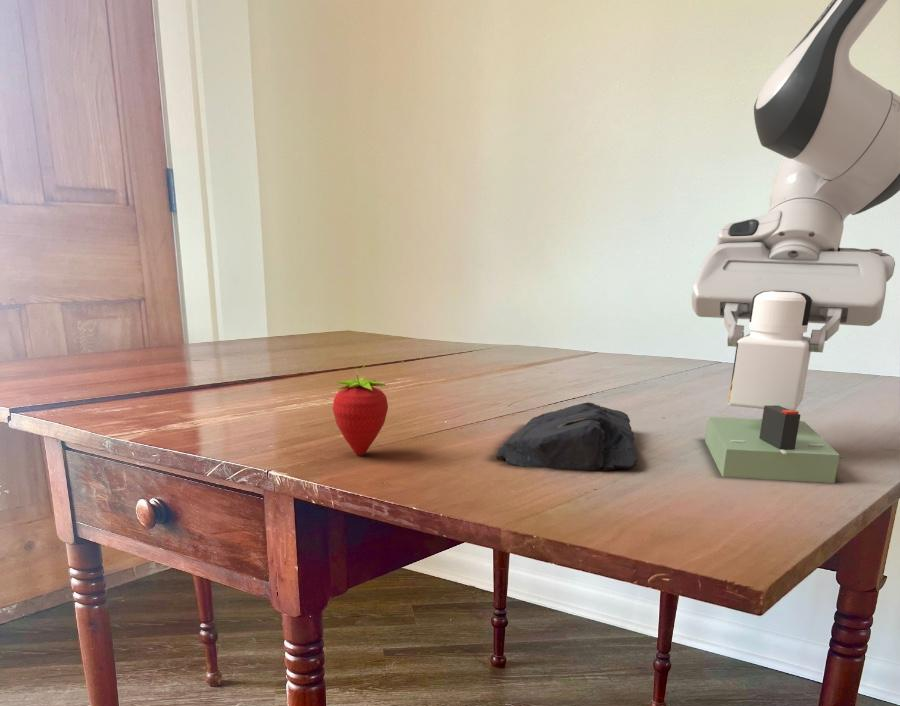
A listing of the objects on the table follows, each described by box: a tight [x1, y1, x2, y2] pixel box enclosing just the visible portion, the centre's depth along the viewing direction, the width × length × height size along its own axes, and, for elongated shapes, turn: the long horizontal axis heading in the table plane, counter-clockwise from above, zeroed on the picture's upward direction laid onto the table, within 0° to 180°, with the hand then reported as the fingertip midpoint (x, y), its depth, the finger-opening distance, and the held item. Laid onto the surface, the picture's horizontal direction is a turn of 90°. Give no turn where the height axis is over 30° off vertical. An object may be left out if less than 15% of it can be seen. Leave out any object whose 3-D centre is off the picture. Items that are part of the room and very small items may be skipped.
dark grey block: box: [759, 405, 801, 449], centre depth 90 cm, size 5×2×4 cm, turn 5°
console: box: [704, 416, 841, 484], centre depth 95 cm, size 11×18×3 cm, turn 171°
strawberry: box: [332, 363, 389, 457], centre depth 94 cm, size 6×8×10 cm
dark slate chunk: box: [495, 401, 639, 472], centre depth 99 cm, size 15×22×5 cm
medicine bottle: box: [728, 291, 812, 411], centre depth 95 cm, size 7×7×12 cm
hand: (773, 345), depth 94 cm, fingers closed on medicine bottle, 7 cm apart
